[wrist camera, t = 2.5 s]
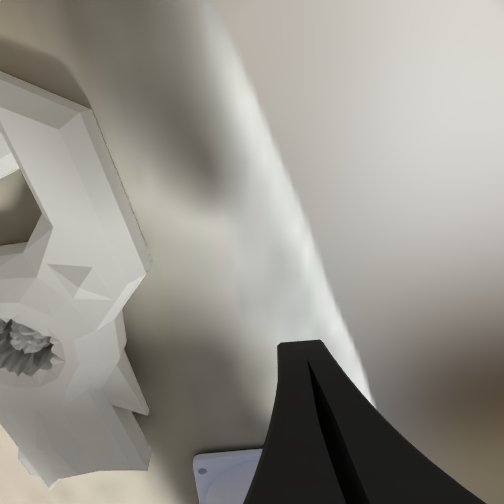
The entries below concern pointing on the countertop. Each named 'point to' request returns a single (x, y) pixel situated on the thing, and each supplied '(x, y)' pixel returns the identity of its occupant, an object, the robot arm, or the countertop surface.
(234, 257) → the countertop surface
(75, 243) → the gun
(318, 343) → the robot arm
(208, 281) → the countertop surface
